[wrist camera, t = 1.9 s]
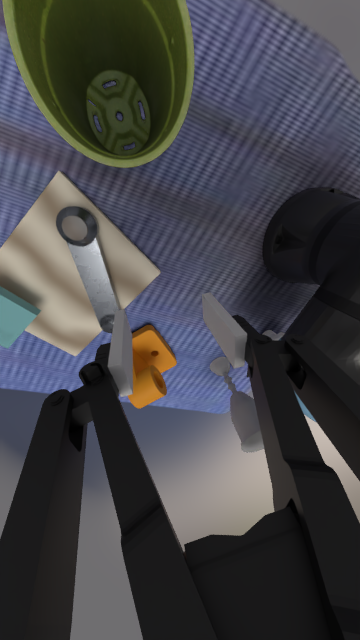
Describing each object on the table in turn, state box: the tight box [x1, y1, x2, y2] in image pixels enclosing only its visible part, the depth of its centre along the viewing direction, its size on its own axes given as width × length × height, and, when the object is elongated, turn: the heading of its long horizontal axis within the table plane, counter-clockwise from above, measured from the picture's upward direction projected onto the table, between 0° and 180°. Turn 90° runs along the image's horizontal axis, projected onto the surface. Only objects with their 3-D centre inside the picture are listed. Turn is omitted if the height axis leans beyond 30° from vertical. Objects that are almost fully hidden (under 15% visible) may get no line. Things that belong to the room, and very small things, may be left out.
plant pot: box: [2, 0, 194, 168], centre depth 18 cm, size 12×12×11 cm
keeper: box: [0, 286, 41, 348], centre depth 27 cm, size 7×6×5 cm
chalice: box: [210, 357, 264, 452], centre depth 40 cm, size 7×7×18 cm
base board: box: [0, 171, 161, 356], centre depth 28 cm, size 22×17×5 cm
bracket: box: [128, 325, 177, 409], centre depth 35 cm, size 11×7×12 cm, turn 27°
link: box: [56, 206, 122, 333], centre depth 28 cm, size 18×4×2 cm, turn 6°
